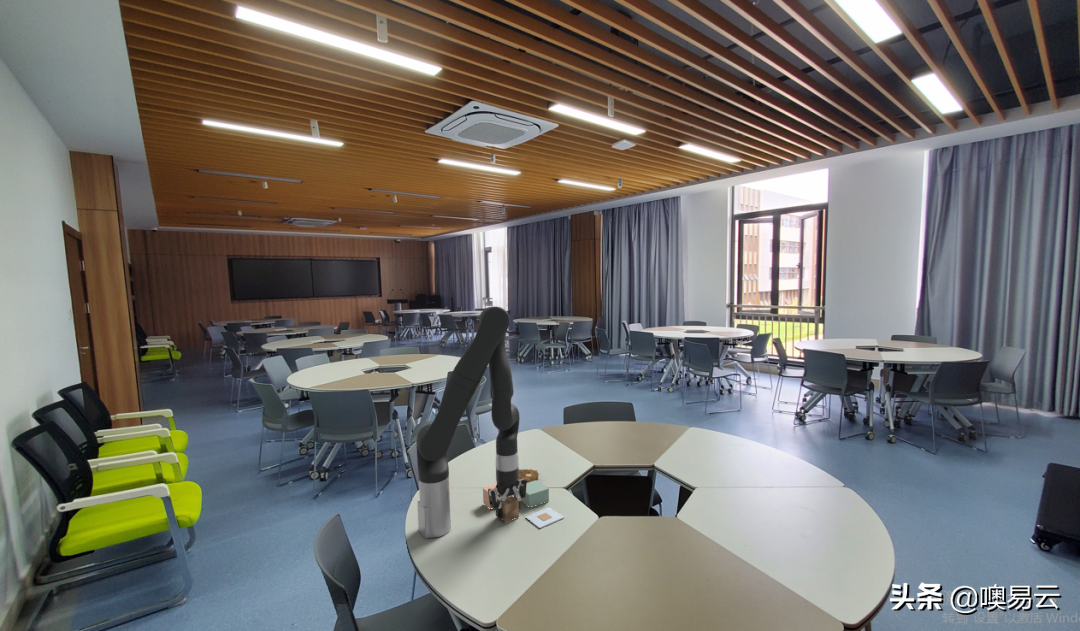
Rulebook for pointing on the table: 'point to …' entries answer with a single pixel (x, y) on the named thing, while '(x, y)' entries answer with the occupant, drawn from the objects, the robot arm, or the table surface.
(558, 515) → the card
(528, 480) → the decorative rock
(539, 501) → the base block
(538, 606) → the table surface
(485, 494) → the terracotta block
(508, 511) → the walnut block
